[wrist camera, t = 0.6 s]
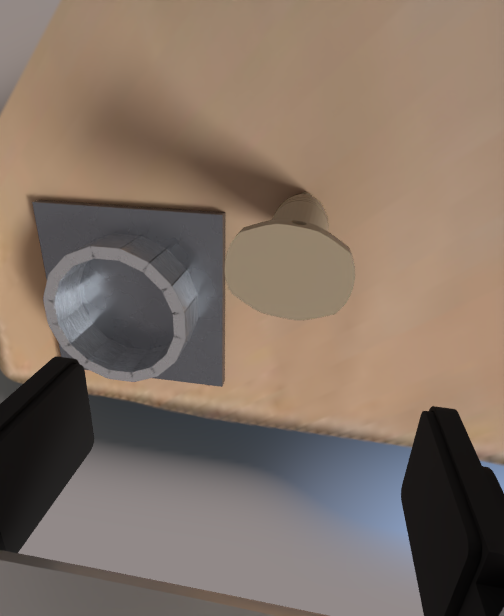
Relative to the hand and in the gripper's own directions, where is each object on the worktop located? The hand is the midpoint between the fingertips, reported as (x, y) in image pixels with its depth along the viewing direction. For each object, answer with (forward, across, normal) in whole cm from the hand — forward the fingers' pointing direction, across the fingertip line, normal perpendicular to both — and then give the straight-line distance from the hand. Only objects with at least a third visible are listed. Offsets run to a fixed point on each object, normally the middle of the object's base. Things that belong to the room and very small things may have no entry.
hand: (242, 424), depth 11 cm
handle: (+26, 0, -1) cm, 26 cm away
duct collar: (+26, +15, +8) cm, 31 cm away
